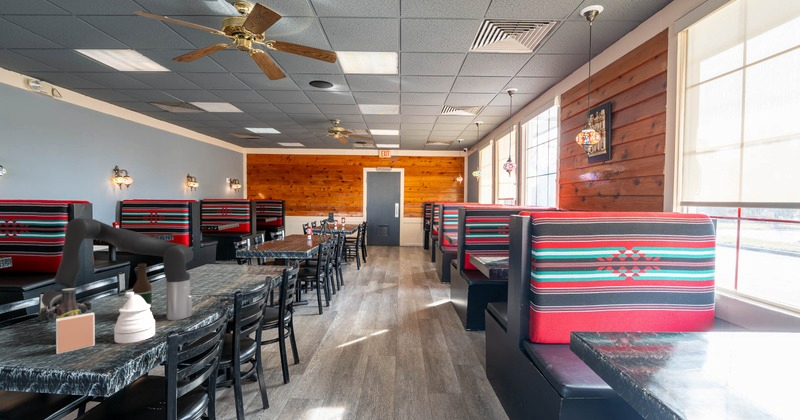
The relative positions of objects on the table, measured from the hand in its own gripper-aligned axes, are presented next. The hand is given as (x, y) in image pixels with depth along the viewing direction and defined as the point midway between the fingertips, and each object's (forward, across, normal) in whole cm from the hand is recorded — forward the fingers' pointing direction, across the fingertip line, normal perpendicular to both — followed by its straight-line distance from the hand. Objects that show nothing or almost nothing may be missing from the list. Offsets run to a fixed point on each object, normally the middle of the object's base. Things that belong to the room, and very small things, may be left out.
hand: (68, 313), depth 130 cm
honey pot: (+12, +18, +11) cm, 25 cm away
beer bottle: (-19, +27, +11) cm, 35 cm away
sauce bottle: (-2, 0, +11) cm, 11 cm away
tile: (+10, +1, +11) cm, 15 cm away
